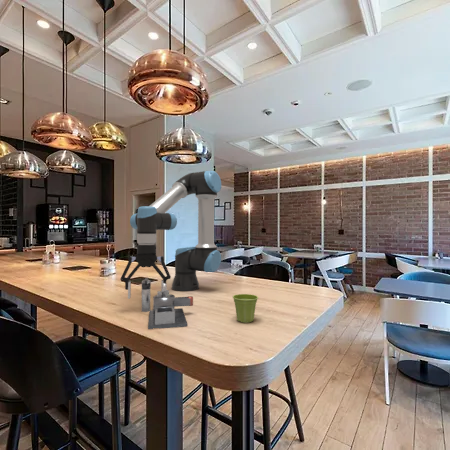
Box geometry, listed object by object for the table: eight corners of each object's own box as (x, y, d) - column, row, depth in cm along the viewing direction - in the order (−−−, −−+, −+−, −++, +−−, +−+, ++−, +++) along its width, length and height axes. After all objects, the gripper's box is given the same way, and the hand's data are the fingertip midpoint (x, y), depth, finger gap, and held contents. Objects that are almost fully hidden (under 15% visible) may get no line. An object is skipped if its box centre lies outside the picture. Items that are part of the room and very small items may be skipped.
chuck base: (182, 310, 114) (182, 298, 114) (187, 326, 96) (187, 311, 96) (149, 312, 111) (149, 300, 111) (148, 329, 93) (148, 314, 93)
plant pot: (231, 316, 107) (231, 293, 107) (255, 316, 108) (255, 293, 108) (234, 324, 98) (234, 300, 98) (260, 324, 99) (260, 299, 99)
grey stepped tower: (150, 308, 117) (150, 278, 117) (150, 312, 111) (150, 280, 112) (141, 309, 116) (142, 278, 117) (140, 313, 111) (141, 280, 111)
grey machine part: (191, 307, 114) (192, 280, 114) (194, 313, 107) (194, 284, 107) (153, 309, 111) (153, 282, 111) (153, 315, 103) (153, 286, 103)
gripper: (176, 243, 121) (175, 293, 120) (116, 243, 115) (115, 296, 115) (177, 244, 114) (176, 297, 113) (113, 244, 108) (112, 300, 107)
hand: (145, 297), depth 114 cm, fingers open, 12 cm apart
